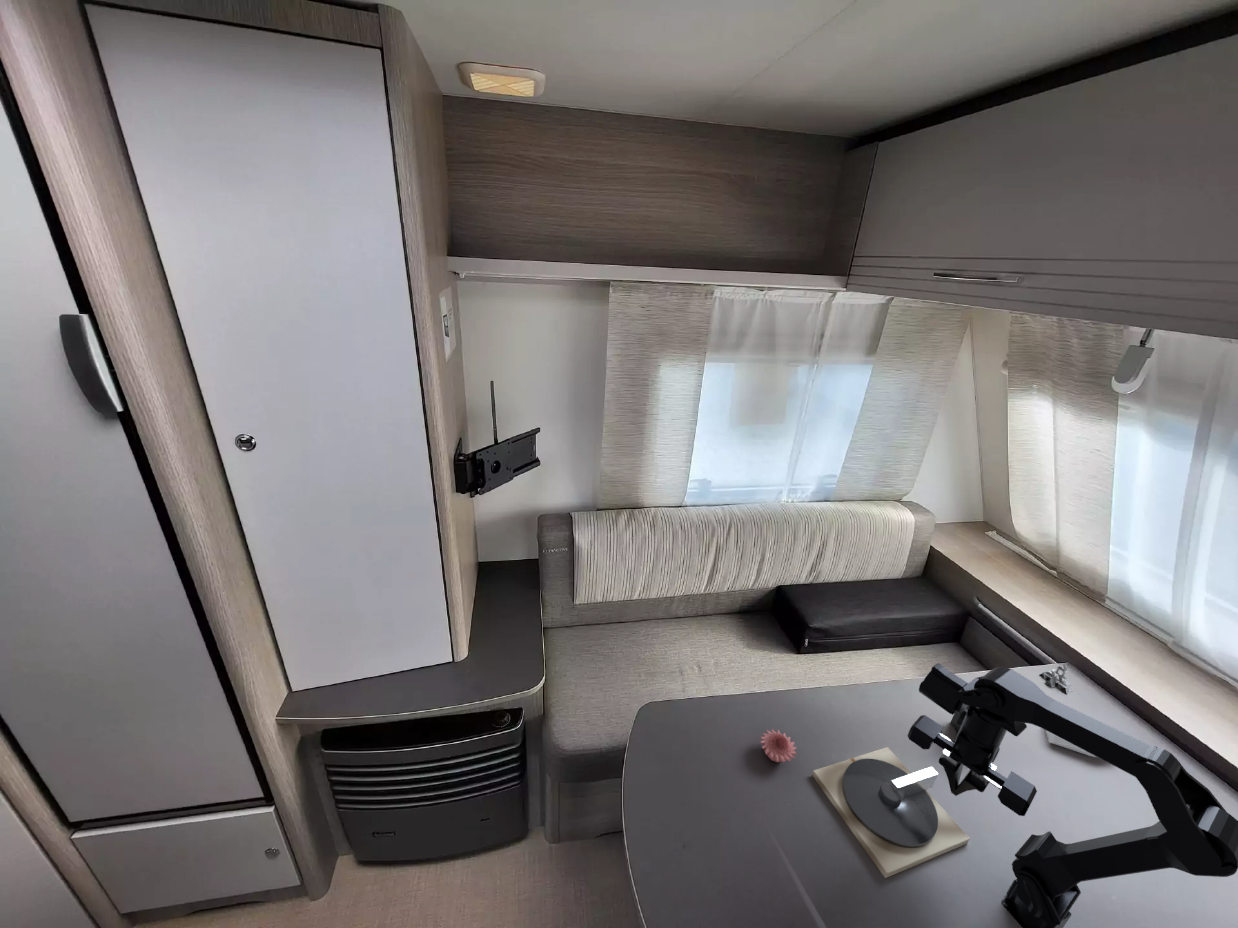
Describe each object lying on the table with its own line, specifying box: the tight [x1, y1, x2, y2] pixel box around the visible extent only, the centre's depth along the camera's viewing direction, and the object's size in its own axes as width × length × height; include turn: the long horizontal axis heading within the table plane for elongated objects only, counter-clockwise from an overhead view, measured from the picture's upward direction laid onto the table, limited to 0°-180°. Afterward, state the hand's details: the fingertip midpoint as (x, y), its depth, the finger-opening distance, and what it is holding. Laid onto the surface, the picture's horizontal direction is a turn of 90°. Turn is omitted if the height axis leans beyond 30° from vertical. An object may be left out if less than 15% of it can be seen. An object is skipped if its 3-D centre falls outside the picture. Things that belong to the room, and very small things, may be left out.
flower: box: [759, 728, 798, 763], centre depth 110 cm, size 8×8×6 cm
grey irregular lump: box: [1043, 663, 1073, 696], centre depth 134 cm, size 9×9×8 cm
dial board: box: [811, 746, 971, 879], centre depth 101 cm, size 20×20×2 cm
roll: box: [1044, 729, 1097, 758], centre depth 116 cm, size 6×12×6 cm, turn 64°
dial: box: [842, 759, 939, 848], centre depth 100 cm, size 19×17×5 cm
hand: (954, 792), depth 94 cm, fingers closed
